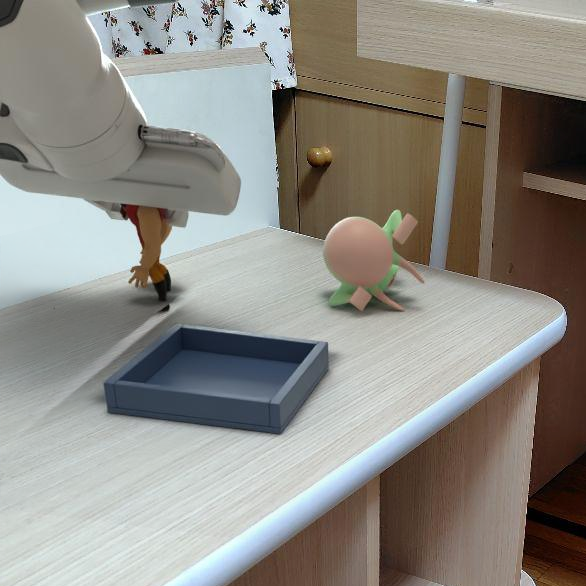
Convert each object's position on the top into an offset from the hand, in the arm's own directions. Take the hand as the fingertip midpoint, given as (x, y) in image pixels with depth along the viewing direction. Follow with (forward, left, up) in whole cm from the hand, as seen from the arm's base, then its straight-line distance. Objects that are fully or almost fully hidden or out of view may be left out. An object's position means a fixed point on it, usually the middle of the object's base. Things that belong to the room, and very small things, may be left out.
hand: (150, 217), depth 93 cm
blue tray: (+13, -18, -8) cm, 23 cm away
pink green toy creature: (+19, +8, -9) cm, 22 cm away
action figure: (0, -1, -9) cm, 9 cm away
